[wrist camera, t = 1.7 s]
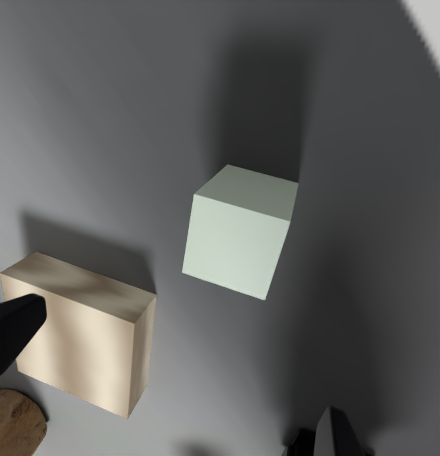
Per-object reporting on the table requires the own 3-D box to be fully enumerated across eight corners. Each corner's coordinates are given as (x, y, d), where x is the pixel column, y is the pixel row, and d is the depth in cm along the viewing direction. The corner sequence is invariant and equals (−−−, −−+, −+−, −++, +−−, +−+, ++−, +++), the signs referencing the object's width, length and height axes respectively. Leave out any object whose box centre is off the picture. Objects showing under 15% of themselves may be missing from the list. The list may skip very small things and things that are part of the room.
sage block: (298, 183, 19) (290, 221, 13) (278, 245, 21) (264, 300, 15) (227, 164, 19) (194, 193, 14) (215, 226, 21) (182, 272, 16)
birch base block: (159, 291, 26) (134, 323, 23) (148, 382, 32) (127, 419, 28) (39, 249, 28) (-1, 273, 25) (49, 341, 34) (18, 371, 30)
